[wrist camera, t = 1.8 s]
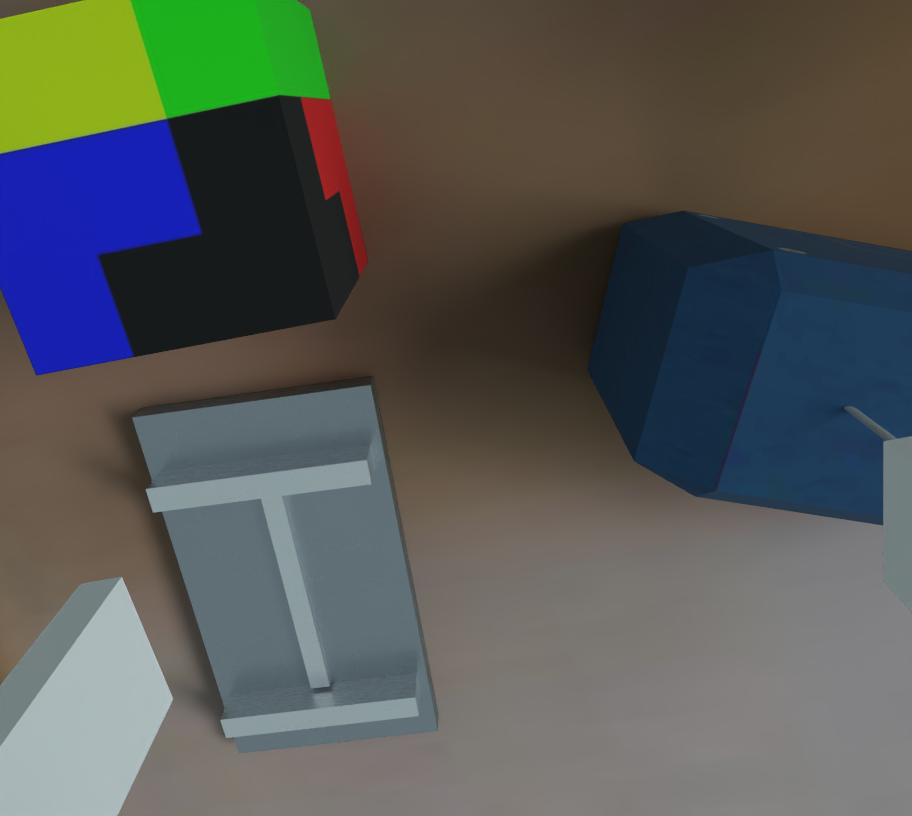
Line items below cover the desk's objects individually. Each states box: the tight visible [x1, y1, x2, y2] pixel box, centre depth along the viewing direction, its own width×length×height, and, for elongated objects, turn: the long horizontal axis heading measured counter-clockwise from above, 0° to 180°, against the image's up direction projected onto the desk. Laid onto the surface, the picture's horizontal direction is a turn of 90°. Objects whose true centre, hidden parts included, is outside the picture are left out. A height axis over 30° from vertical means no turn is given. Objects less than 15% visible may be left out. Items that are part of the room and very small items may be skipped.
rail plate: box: [132, 377, 438, 753], centre depth 38 cm, size 20×11×3 cm, turn 8°
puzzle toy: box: [0, 0, 368, 375], centre depth 27 cm, size 10×10×10 cm
